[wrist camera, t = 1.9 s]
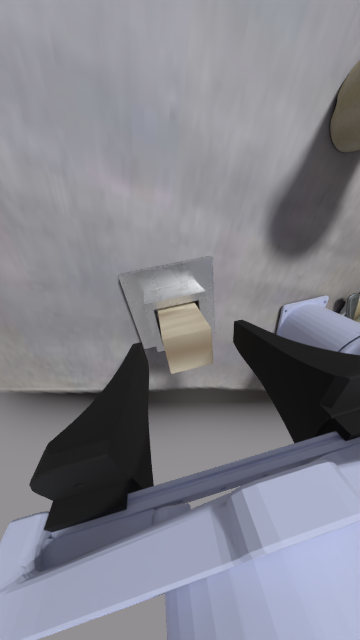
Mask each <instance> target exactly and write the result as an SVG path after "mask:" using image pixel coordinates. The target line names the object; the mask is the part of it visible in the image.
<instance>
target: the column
mask: <svg viewBox="0 0 360 640" xmlns="http://www.w3.org/2000/svg"><path fill="white" fill-rule="evenodd" d="M158 315H159V322H160V329H161V336H162V341H163V345H164V349H165V353H166V356H167V360H168V364H169V367H170V371H171V374H173V373H177V372H181V371H185V370H189V369H193V368H197V367H201V366H205V365H209V364H213V350H212V331H211V327H210V326H209V324H208V323H207V321H206V319H205V318H204V316H203V315H202V313H201V312H200V310H199V309H198V307H197V306H196V304H195V303H194V301H192V302H188V303H183V304H178V305H174V306H169V307H165V308H160V309H158Z"/></svg>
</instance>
